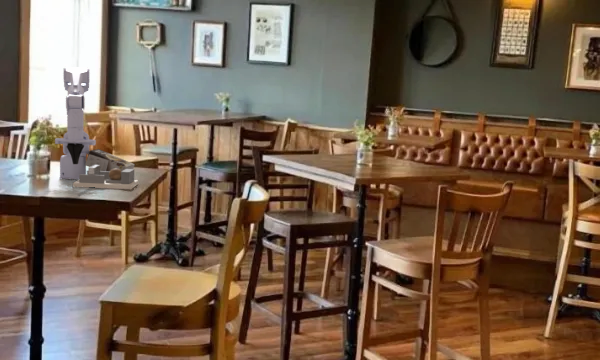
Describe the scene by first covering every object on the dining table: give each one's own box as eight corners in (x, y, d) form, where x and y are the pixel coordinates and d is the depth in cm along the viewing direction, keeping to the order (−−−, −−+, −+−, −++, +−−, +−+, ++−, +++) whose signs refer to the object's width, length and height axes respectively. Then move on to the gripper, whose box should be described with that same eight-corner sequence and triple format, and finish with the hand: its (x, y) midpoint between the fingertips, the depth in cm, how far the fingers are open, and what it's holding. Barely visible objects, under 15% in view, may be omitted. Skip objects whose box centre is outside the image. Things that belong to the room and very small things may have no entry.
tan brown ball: (107, 182, 280) (107, 168, 279) (110, 180, 285) (110, 167, 284) (120, 182, 280) (120, 169, 279) (124, 180, 285) (124, 167, 284)
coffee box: (127, 166, 292) (89, 150, 293) (121, 181, 293) (84, 165, 294) (135, 163, 301) (98, 148, 302) (129, 178, 302) (93, 163, 303)
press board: (73, 186, 277) (73, 170, 276) (83, 181, 289) (83, 166, 288) (130, 189, 277) (130, 173, 276) (138, 184, 289) (138, 168, 288)
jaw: (88, 178, 279) (88, 167, 278) (94, 175, 286) (94, 164, 286) (93, 178, 278) (93, 167, 278) (99, 175, 286) (99, 165, 286)
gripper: (52, 127, 276) (52, 164, 278) (91, 129, 276) (91, 166, 278) (58, 125, 283) (58, 162, 285) (97, 127, 283) (97, 163, 285)
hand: (75, 163), depth 282 cm, fingers closed
